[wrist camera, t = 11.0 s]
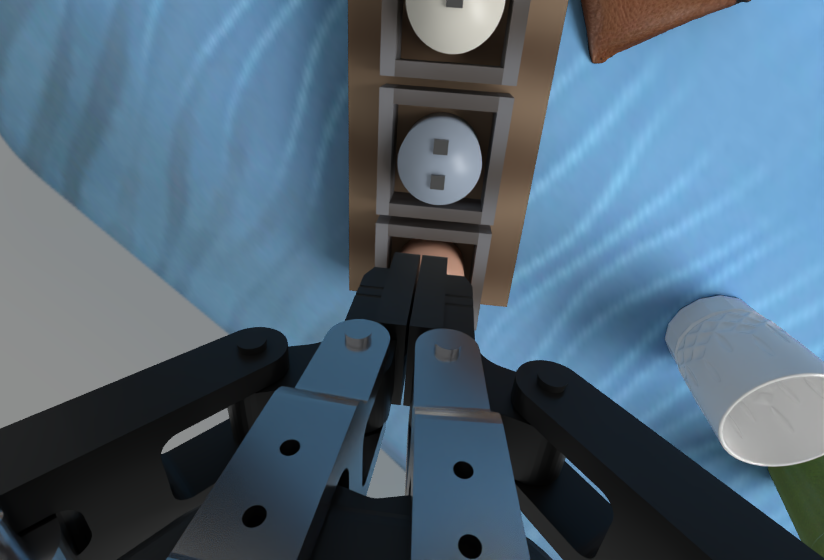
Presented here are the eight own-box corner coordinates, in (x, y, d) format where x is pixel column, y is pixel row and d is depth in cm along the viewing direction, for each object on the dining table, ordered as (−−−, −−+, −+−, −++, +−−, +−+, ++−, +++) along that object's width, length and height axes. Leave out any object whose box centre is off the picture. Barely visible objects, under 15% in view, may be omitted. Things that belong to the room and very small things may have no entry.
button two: (405, 109, 26) (399, 117, 24) (485, 115, 26) (488, 124, 23) (401, 186, 29) (394, 202, 26) (474, 193, 29) (475, 210, 26)
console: (359, -76, 25) (335, -104, 20) (570, -63, 25) (597, -89, 20) (357, 279, 36) (341, 315, 32) (501, 294, 36) (508, 333, 31)
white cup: (641, 358, 38) (696, 455, 29) (682, 279, 34) (760, 363, 25) (732, 375, 37) (815, 476, 29) (783, 297, 34) (897, 387, 25)
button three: (398, 231, 30) (392, 251, 27) (468, 238, 30) (468, 258, 27) (395, 291, 33) (389, 314, 30) (459, 297, 32) (459, 322, 30)
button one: (414, -56, 23) (408, -69, 20) (507, -50, 22) (514, -63, 20) (408, 49, 25) (402, 50, 22) (493, 55, 25) (497, 57, 22)
